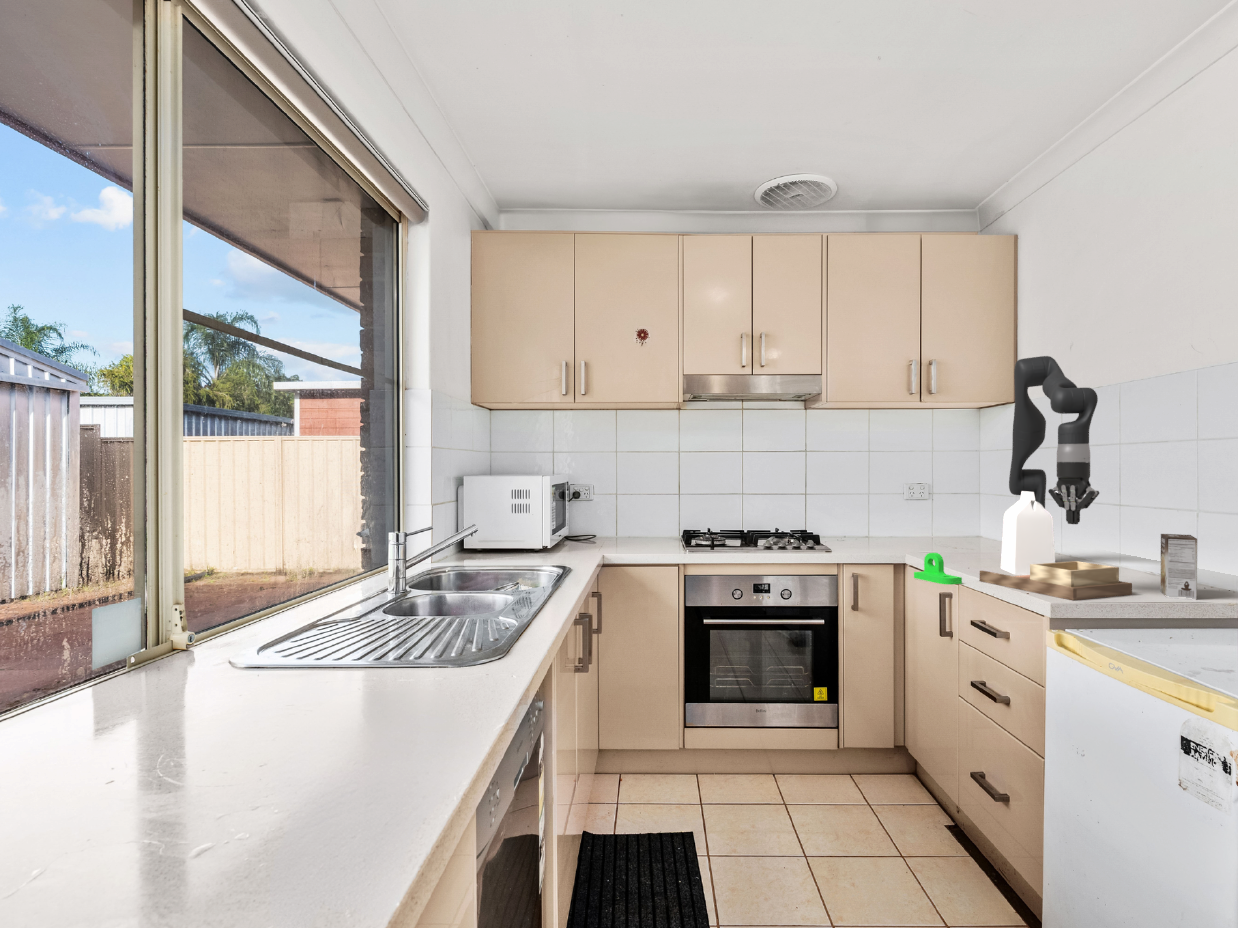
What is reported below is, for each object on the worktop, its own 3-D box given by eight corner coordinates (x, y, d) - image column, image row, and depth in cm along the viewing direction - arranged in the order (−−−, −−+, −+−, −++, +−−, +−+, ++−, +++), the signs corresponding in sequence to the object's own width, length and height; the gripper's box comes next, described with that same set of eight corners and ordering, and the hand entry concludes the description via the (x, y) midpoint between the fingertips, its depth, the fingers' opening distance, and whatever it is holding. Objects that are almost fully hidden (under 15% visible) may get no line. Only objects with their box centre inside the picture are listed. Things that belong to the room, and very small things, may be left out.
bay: (979, 581, 191) (979, 570, 191) (1033, 576, 198) (1033, 566, 198) (1073, 600, 164) (1073, 588, 164) (1132, 594, 171) (1132, 583, 171)
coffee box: (1159, 591, 175) (1159, 533, 175) (1190, 594, 172) (1190, 534, 172) (1165, 597, 168) (1166, 536, 168) (1198, 600, 164) (1198, 538, 164)
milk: (1000, 568, 213) (1000, 490, 213) (1038, 569, 211) (1039, 490, 211) (1014, 574, 202) (1015, 492, 202) (1055, 576, 199) (1056, 492, 199)
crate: (1029, 585, 178) (1030, 564, 178) (1076, 582, 183) (1076, 561, 183) (1071, 594, 167) (1071, 571, 167) (1118, 589, 173) (1119, 567, 173)
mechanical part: (914, 578, 196) (914, 552, 196) (929, 577, 198) (929, 551, 198) (945, 585, 185) (945, 557, 185) (961, 584, 187) (961, 556, 187)
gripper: (1040, 460, 180) (1040, 522, 180) (1088, 460, 168) (1087, 526, 168) (1059, 460, 183) (1059, 521, 183) (1108, 460, 170) (1107, 525, 170)
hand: (1073, 523), depth 175 cm, fingers closed
